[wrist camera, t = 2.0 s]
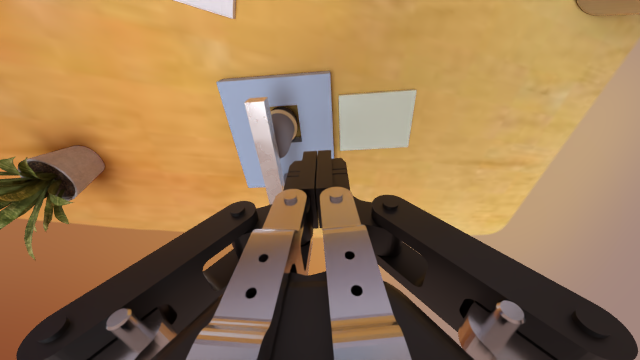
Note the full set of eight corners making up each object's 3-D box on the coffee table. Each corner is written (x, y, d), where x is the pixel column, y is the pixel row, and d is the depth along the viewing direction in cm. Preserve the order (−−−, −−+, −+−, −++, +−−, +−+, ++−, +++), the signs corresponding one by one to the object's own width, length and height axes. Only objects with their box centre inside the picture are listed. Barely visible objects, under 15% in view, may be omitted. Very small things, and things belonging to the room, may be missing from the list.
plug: (296, 103, 31) (288, 123, 25) (300, 134, 34) (294, 160, 27) (263, 105, 32) (247, 126, 25) (270, 136, 34) (256, 162, 27)
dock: (329, 70, 29) (331, 85, 22) (334, 176, 38) (336, 212, 31) (222, 79, 30) (188, 95, 23) (251, 180, 39) (234, 216, 31)
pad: (415, 89, 30) (416, 90, 29) (406, 145, 34) (408, 146, 34) (338, 94, 30) (338, 95, 30) (340, 148, 35) (340, 150, 34)
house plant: (12, 93, 31) (-227, 144, 18) (121, 124, 34) (-19, 190, 20) (46, 176, 39) (-102, 255, 26) (133, 197, 41) (39, 280, 28)
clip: (276, 96, 22) (273, 100, 20) (298, 218, 31) (296, 227, 29) (239, 98, 22) (234, 103, 21) (271, 219, 31) (269, 228, 29)
